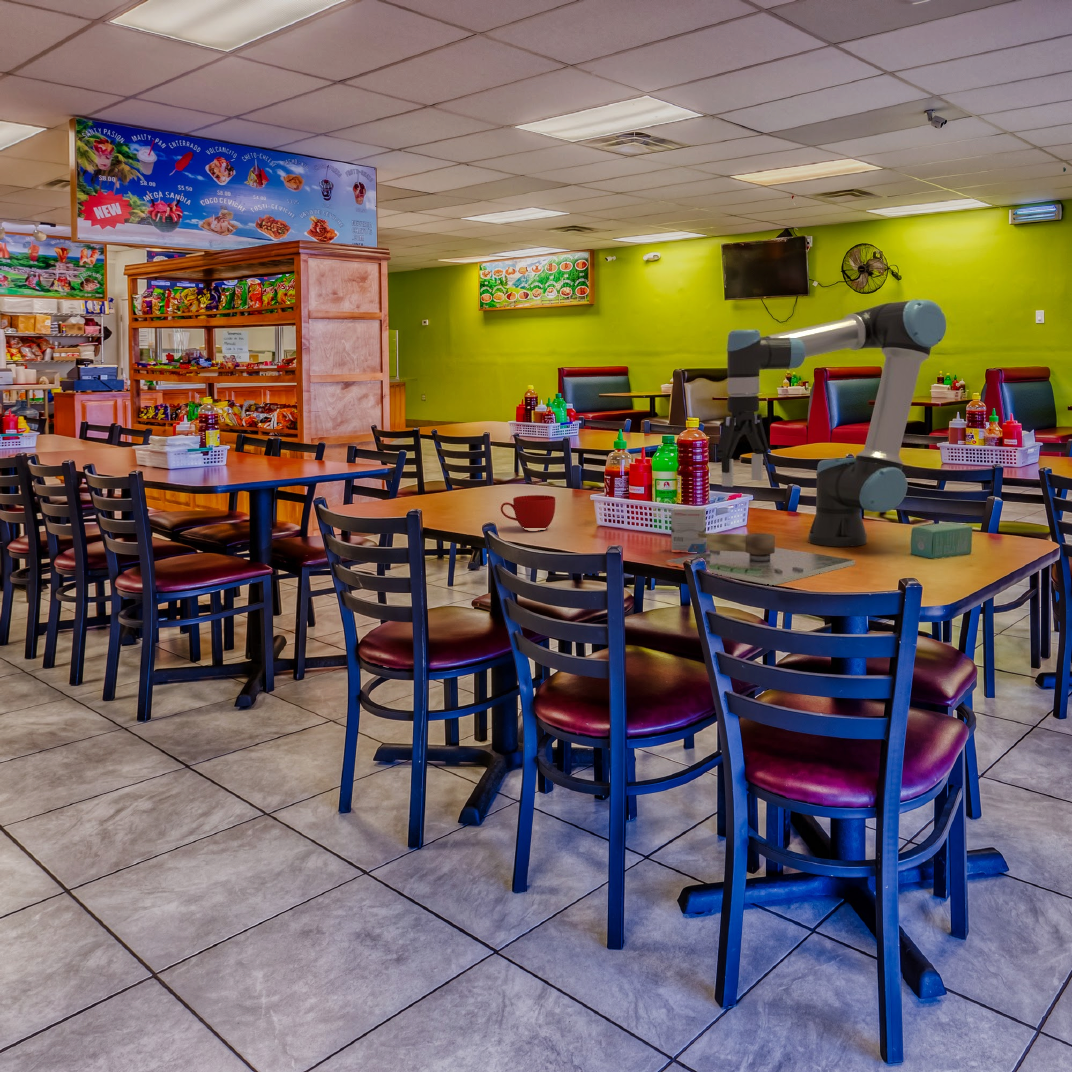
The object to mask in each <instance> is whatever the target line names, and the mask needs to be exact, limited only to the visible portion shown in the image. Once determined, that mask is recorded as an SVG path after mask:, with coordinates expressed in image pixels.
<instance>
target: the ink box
mask: <svg viewBox="0 0 1072 1072" xmlns="http://www.w3.org/2000/svg"><path fill="white" fill-rule="evenodd" d="M706 510H707V508H706V507H703V506H702V507H699V506H698V507H695V506H693V507H692V506H691V507H690V506H675V507H673V508H672V509H670V511H671V512H670V515H671V516H670V517H671V519H670V521H671V522H670V524H671V526H670V528H671V529H670V530H671V532H670V533H671V537H670V538H671V541H670V542H671V544H670V545H671V550H680V551H688V552H697V553H705V552H706V551H707V550H706V538H698V533H707V527H706V526H707V522H706V521H707V519H706V517H707V514H706V512H707V511H706ZM705 550H706V551H705ZM697 553H696V554H697Z"/></svg>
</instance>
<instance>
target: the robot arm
mask: <svg viewBox="0 0 1072 1072" xmlns="http://www.w3.org/2000/svg"><path fill="white" fill-rule="evenodd" d="M946 331H947V321H946V316H945V314H944V312H943V311H942V308H941V307H940V306H939V305H938V304H937V303H936V302H934V301H932V300H929V299H916V298H915V299H912V300H906V301H905V300H904V301H898V302H897V301H896V302H887V303H883V304H879V305H876V306H874V307H869V308H868V309H867V308H866V309H864V310H860V311H857V312H853V313H849V314H847V315H846V316H845V317H844V318H843V319H839V320H833V321H830V322H825V323H821V324H816V325H812V326H811V325H810V326H807V327H803V328H802V327H801V328H798V329H797V328H796V329H793V330H788V331H783V332H780V333H774V334H770V335H766V336H761V333H760V330H759V329H735V330H731V331H730V332H729V333H728V335H727V345H726V352H727V356H726V357H727V359H726V360H727V363H726V365H727V367H726V368H727V383H726V384H727V394H728V395H729V396H728V397H727V399H726V400H727V402H726V407H727V408H726V410H727V413H731V416H724V417H723V419H722V420H723V421H722V423H723V424H722V429H721V432H720V436H719V440H718V443H717V448H716V452H715V457H716V458H717V459H718V460H721V486H722V487H731V488H733V487H734V459H733V458H732V456H733V454H734V452H735V450H736V447H737V445H738V443H739V441H740V438H741V437H743V436H744V435H745V436H746V438H747V441H748V442H749V445H750V446H751V447H750V448H751V449H752V451H753V453H751V481H758V482H759V481H760V482H761V481H763V480H764V477H763V475H764V473H763V472H764V469H763V467H764V455H766V454H768V451H769V444H768V440H767V435H766V433H765V427H764V424H763V416H762V414H761V413H760V414H759V413H756V412H758V411H759V410H760V397H759V395H758V394H759V393H760V370H763V371H764V370H790V369H798V368H800V367H801V366H802V365H803V363H804V362H805V359H806V358H809V357H814V356H820V355H823V354H827V353H832V352H836V351H840V350H845V349H849V350H851V351H858V350H862V349H881V350H880V351H881V353H882V354H883V355H884V357H885V359H884V364H883V367H882V373H881V378H880V381H879V386H878V390H877V394H876V398H875V402H874V406H873V411H872V415H871V420H870V424H869V426H868V427H869V428H868V431H867V437H866V440H865V444H864V448H863V450H862V451H860V452H858V453H857V454H856V456H855V457H844V458H830V459H822V460H820V461H819V462H818V464H817V468H816V469H817V470H816V502H815V503H816V504H815V505H816V506H815V507H816V508H815V516H814V518H813V521H812V524H811V527H810V529H809V532H808V543H811V544H814V545H818V546H826V547H840V548H841V547H844V548H845V547H859V546H863V545H866V544H867V536H868V535H867V532H866V528H865V525H864V521H863V518H862V515H861V513H862V512H861V511H862V510H864V511H867V512H871V513H886V512H890V511H892V510H894V509H895V508H896V507H898V506H900V504H902V502H903V500H904V499H905V497H906V494H907V492H908V479H906V478H907V477H906V475H905V473H904V472H903V466H904V462H903V461H902V459H901V457H900V453H901V447H902V443H903V439H904V436H905V431H906V427H907V423H908V419H909V414H910V410H911V406H912V402H913V399H914V398H913V397H914V394H915V389H916V385H917V381H918V377H919V373H920V368H921V365H922V364H923V362H924V361H927V360H928V359H929V358H930V354H931V351H932V350H931V349H932V348H933V347H934V346H936V345H938V344H939V343H940V342H942V340H943V339H944V336H945V335H946Z"/></svg>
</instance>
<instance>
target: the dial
mask: <svg viewBox="0 0 1072 1072" xmlns="http://www.w3.org/2000/svg"><path fill="white" fill-rule="evenodd" d="M698 538H706V551H710V550H713V551H736V552H746V553H749V554H759V555H764V554H772V553H775V548H776V546H775V545H776V535H774V534H772V533H763V532H762V533H761V532H760V533H759V532H758V533H754V532H753V533H747V534H745V533H744V534H742V533H719V532H717V533H716V532H706V533H698Z"/></svg>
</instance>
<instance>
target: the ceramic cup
mask: <svg viewBox="0 0 1072 1072" xmlns="http://www.w3.org/2000/svg"><path fill="white" fill-rule="evenodd" d="M512 500H513V503H511V502H506V501H505V502H503V503H502V504H501V506H500V512H501V514H502V515H503V517H506V518H507V519H509V520H512V521H515V522H518V524H519V526H520V527H521V528H522V527H524V528H546V527H547V528H548V527H549V526H550V525H551V523H552V522H553V519H554V517H555V512H556V497H555V496H553V495H543V494H532V495H520V496H515V497H513V498H512ZM504 506H510V507H511V508H512V509H513V511H514V514H515V515H514V516H515V517H512V516H510V515H508V514H507V513H506V512H504V509H503V508H504ZM547 528H546V529H547Z"/></svg>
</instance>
